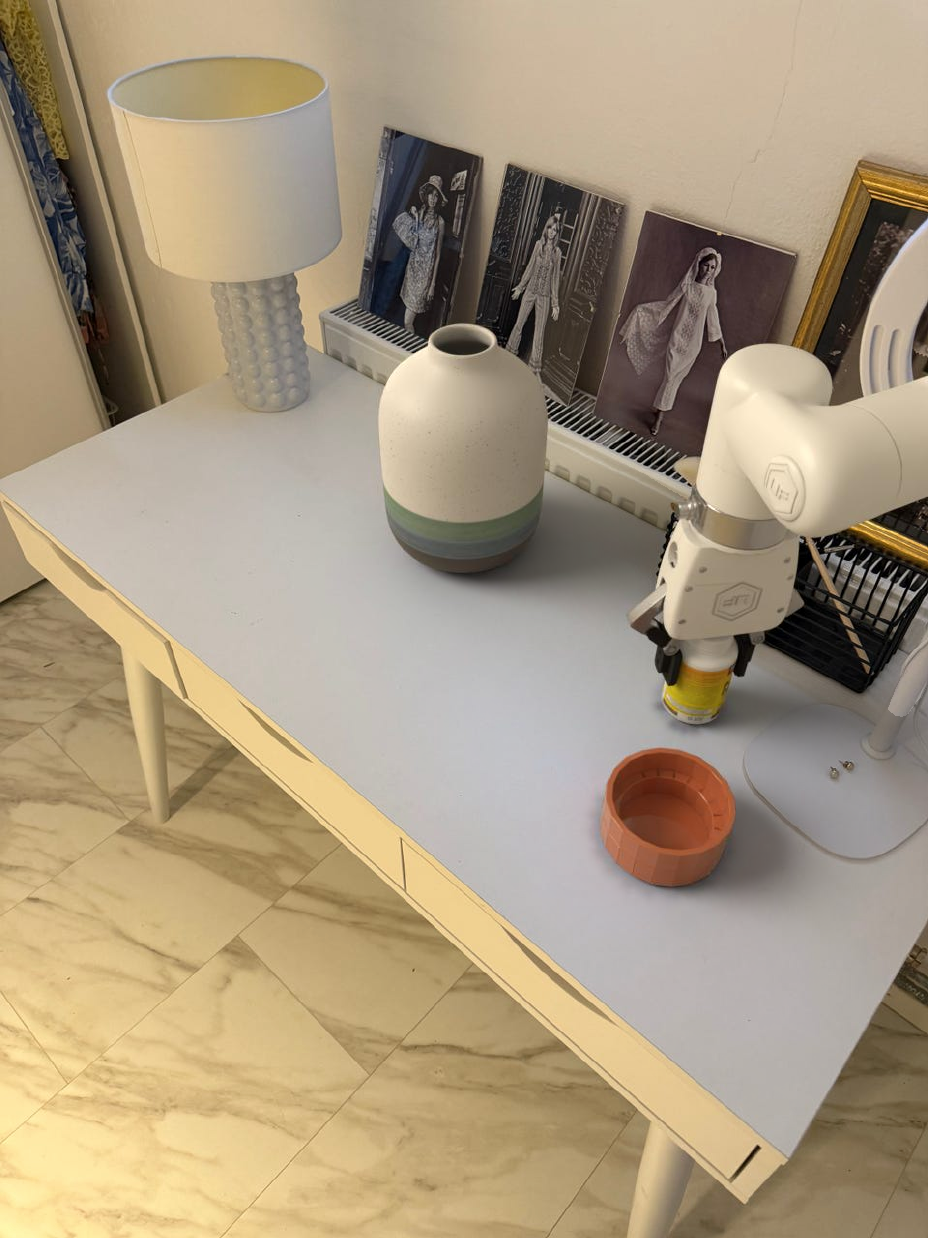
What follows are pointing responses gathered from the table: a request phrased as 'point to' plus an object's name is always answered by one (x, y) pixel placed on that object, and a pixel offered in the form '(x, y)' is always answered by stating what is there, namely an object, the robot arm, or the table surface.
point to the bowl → (666, 816)
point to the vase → (463, 451)
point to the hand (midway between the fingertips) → (700, 668)
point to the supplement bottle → (701, 679)
